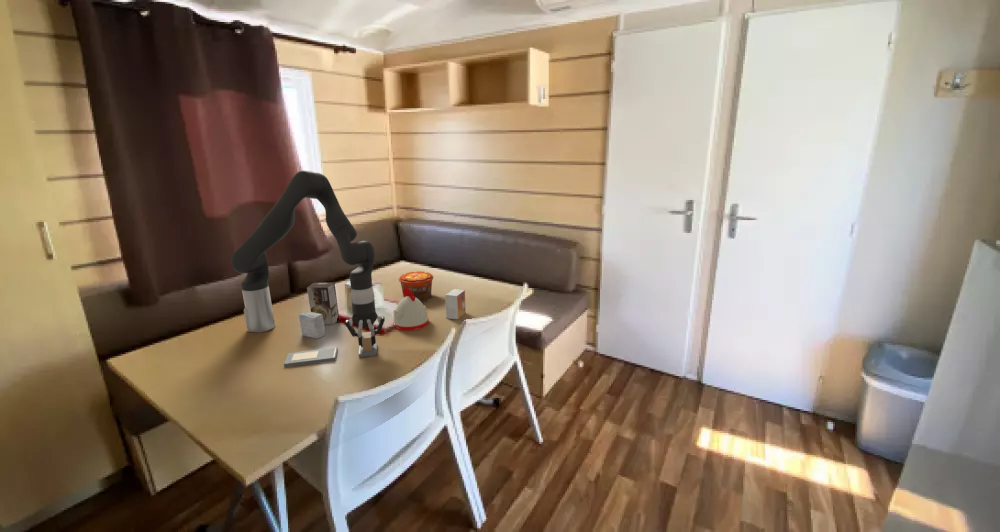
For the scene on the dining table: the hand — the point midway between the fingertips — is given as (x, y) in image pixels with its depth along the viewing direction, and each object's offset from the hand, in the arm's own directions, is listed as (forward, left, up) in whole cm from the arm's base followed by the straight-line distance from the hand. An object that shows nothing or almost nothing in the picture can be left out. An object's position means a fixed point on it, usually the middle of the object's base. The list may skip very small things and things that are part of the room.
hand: (367, 345), depth 155 cm
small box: (+35, +24, -3) cm, 43 cm away
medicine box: (-21, +20, -3) cm, 29 cm away
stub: (0, 0, -2) cm, 2 cm away
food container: (+21, +52, -3) cm, 56 cm away
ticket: (-19, 0, -2) cm, 19 cm away
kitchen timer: (+16, +21, -3) cm, 27 cm away
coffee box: (-18, +33, -3) cm, 38 cm away
